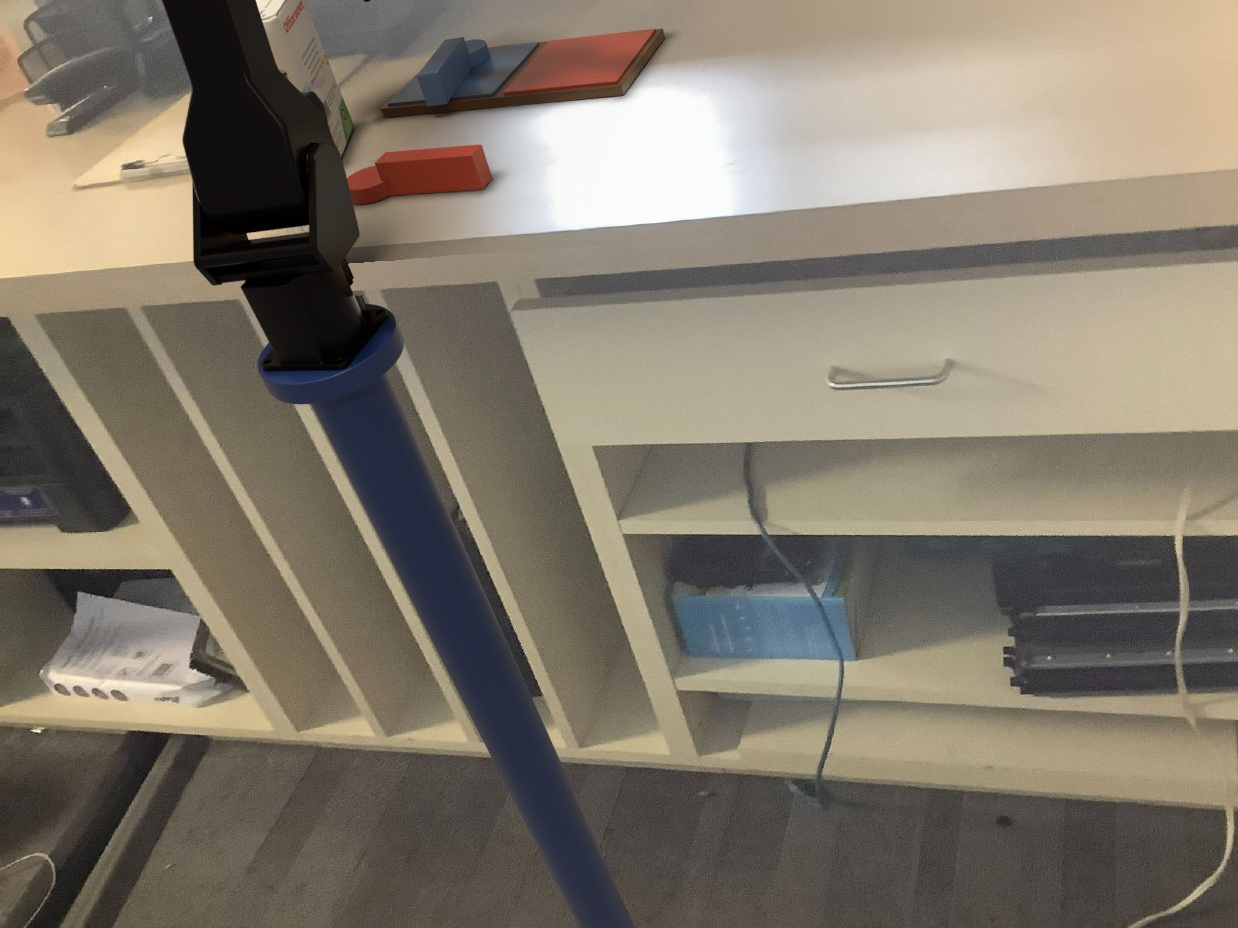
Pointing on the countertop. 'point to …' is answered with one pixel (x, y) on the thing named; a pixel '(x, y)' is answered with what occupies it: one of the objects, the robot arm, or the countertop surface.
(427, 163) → the red stepped handle block
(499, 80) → the sorting board
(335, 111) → the ink box
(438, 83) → the blue rounded tab block
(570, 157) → the countertop surface
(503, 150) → the countertop surface
